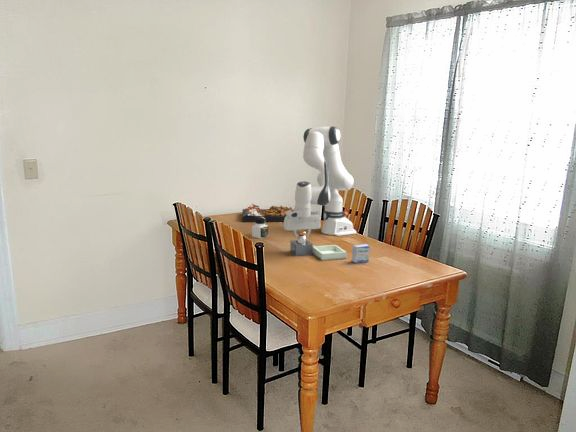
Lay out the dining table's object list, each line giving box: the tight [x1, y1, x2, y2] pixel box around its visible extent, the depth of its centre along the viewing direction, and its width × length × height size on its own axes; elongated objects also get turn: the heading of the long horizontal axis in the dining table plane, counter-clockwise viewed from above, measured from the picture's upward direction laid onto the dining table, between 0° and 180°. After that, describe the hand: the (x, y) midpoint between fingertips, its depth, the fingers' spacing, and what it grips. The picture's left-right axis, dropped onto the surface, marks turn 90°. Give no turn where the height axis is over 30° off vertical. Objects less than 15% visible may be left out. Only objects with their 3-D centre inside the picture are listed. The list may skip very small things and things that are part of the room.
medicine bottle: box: [251, 217, 269, 240], centre depth 288 cm, size 7×7×12 cm
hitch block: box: [289, 239, 314, 257], centre depth 259 cm, size 9×9×6 cm
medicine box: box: [351, 243, 370, 264], centre depth 247 cm, size 8×4×9 cm, turn 117°
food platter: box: [241, 202, 293, 224], centre depth 337 cm, size 45×25×10 cm, turn 95°
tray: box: [312, 244, 348, 261], centre depth 256 cm, size 14×14×4 cm
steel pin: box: [297, 230, 307, 244], centre depth 258 cm, size 4×4×12 cm
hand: (301, 237), depth 258 cm, fingers closed on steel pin, 4 cm apart
